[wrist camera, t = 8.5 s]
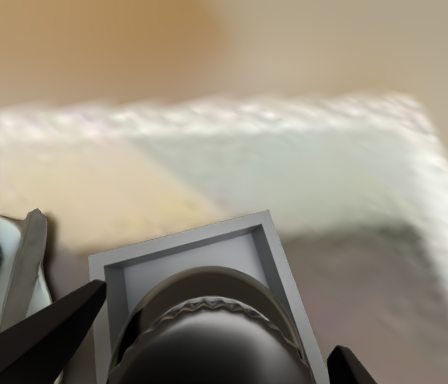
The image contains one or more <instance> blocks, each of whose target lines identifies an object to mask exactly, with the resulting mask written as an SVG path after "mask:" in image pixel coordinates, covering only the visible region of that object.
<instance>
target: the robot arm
mask: <svg viewBox="0 0 448 384" xmlns="http://www.w3.org/2000/svg"><path fill="white" fill-rule="evenodd" d="M106 297H107V282H106V281H104V280H100V279H94V280H92V281H91V282H89V283H87V284H85V285H84V286H82V287H80V288H78V289H76V290H75V291H73V292H71V293H69V294H68V295H66V296H64V297H62V298H61V299H59V300H57V301H55V302H53V303H52V304H50V305H48V306H46V307H45V308H43V309H41V310H39V311H38V312H36V313H34V314H32V315H30V316H29V317H27V318H25V319H23V320H22V321H20V322H18V323H16V324H14V325H13V326H11V327H9V328H7V329H6V330H4V331H2V332H0V384H53V383H54V382H55V381H56V379H57V378H58V376H59V375H60V373H61V372H62V371H63V369H64V368H65V366H66V365H67V363H68V362H69V361H70V359H71V358H72V356H73V355H74V353H75V352H76V350H77V349H78V347H79V346H80V344H81V343H82V341H83V339H84V338H85V336H86V334H87V332H88V331H89V329H90V327H91V325H92V324H93V322H94V320H95V318H96V317H97V315H98V313H99V311H100V310H101V308H102V306H103V304H104V302H105V300H106ZM327 367H328V375H329V383H330V384H377V383H376V382H375V380H374V379H373V378H372V376H371V375H370V374H369V373H368V371H367V370H366V369H365V368H364V366H363V365H362V364H361V363H360V361H359V360H358V359H357V357H356V356H355V355H354V354H353V352H352V351H351V350H350V349H349V348H347V347H343V346H340V345H337V346H336V347H335V348H334V350H333V351H332V352H331V354H330V355H329V357H328V359H327Z"/></svg>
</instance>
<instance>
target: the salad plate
mask: <svg viewBox="0 0 448 384" xmlns="http://www.w3.org/2000/svg"><path fill="white" fill-rule="evenodd" d="M47 221H48V220H47V218H46V217H45V216H44V215H43V214H42V213H41V211H40V210H39V209H38V208H37V209H35V210H33V211H32V212H29V213H28V214H27V217H26V219H24V220H15V219H11V218H8V217H4V216H0V332H2V331H4V330H6V329H7V328H9V327H11V326H13V325H14V324H16V323H18V322H20V321H22V320H23V319H25V318H27V317H29V316H30V315H32V314H34V313H36V312H38V311H39V310H41V309H43V308H45V307H46V306H48V305H50V304H52V303H53V302H52V299H51V296H50V292H49V289H48V287H47V284H46V281H45V277H44V270H43V259H44V254H45V250H46V243H47ZM62 378H63V371H62V372H61V373H60V375H59V376H58V378H57V379H56V381H55V382H54V383H53V384H60V383H61V381H62Z"/></svg>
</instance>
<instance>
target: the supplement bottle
mask: <svg viewBox="0 0 448 384" xmlns="http://www.w3.org/2000/svg"><path fill="white" fill-rule="evenodd" d="M106 384H314V383H313V379H312V373H311V369H310V367H309V366H308V365H307V364H306V363H305V360H304V354H303V350H302V346H301V342H300V339H299V336H298V333H297V331H296V329H295V326H294V324H293V322H292V320H291V318H290V316H289V314H288V313H287V311H286V310H285V308H284V306H283V305H282V304H281V302H280V301H279V300H278V299H277V297H276V296H275V295H274V294H273V293H272V292H271V291H270V290H269V289H268V288H267V287H266V286H264V285H263V284H262V283H261V282H259V281H258V280H256V279H255V278H253V277H252V276H250V275H248V274H246V273H244V272H241V271H238V270H236V269H232V268H228V267H223V266H200V267H194V268H190V269H187V270H184V271H181V272H179V273H176V274H174V275H172V276H170V277H169V278H167V279H165V280H164V281H162V282H161V283H159V284H158V285H157V286H155V287H154V288H153V289H152V290H151V291H150V292H148V293H147V294H146V295H145V296H144V298H143V299H142V300H141V301H140V302H139V303H138V304H137V306H136V307H135V308H134V309H133V311H132V312H131V314H130V315H129V317H128V319H127V320H126V322H125V324H124V326H123V328H122V330H121V332H120V334H119V336H118V338H117V341H116V344H115V346H114V349H113V352H112V356H111V359H110V363H109V368H108V374H107V382H106Z"/></svg>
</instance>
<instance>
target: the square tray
mask: <svg viewBox="0 0 448 384" xmlns="http://www.w3.org/2000/svg"><path fill="white" fill-rule="evenodd" d="M88 259H89V275H90V282H91V281H92V280H94V279H100V280H104V281H106V282H107V297H106V300H105V302H104V304H103V306H102V308H101V310H100V311H99V313H98V315H97V317H96V318H95V320H94V322H93V337H94V352H95V367H96V383H97V384H106V382H107V374H108V368H109V363H110V359H111V356H112V352H113V349H114V346H115V344H116V341H117V338H118V336H119V334H120V332H121V330H122V328H123V326H124V324H125V322H126V320H127V319H128V317H129V315H130V314H131V312H132V311H133V309H134V308H135V307H136V306H137V304H138V303H139V302H140V301H141V300H142V299H143V298H144V296H145V295H146V294H147V293H148V292H150V291H151V290H152V289H153V288H154V287H155V286H157V285H158V284H159V283H161V282H162V281H164V280H165V279H167V278H169V277H170V276H172V275H174V274H176V273H179V272H181V271H184V270H187V269H190V268H194V267H200V266H223V267H228V268H232V269H236V270H238V271H241V272H244V273H246V274H248V275H250V276H252V277H253V278H255V279H256V280H258V281H259V282H261V283H262V284H263V285H264V286H266V287H267V288H268V289H269V290H270V291H271V292H272V293H273V294H274V295H275V296H276V297H277V299H278V300H279V301H280V302H281V304H282V305H283V306H284V308H285V310H286V311H287V313H288V314H289V316H290V318H291V320H292V322H293V324H294V326H295V329H296V331H297V333H298V336H299V339H300V342H301V346H302V350H303V354H304V360H305V363H306V364H307V365H308V366H309V367H310V369H311V373H312V379H313V383H314V384H330V383H329V375H328V372H327V369H326V367H325V364H324V361H323V358H322V356H321V353H320V350H319V347H318V344H317V342H316V339H315V336H314V333H313V331H312V328H311V325H310V322H309V320H308V317H307V314H306V311H305V309H304V306H303V303H302V300H301V297H300V295H299V292H298V289H297V286H296V284H295V281H294V278H293V275H292V273H291V270H290V267H289V264H288V262H287V259H286V256H285V253H284V250H283V248H282V245H281V242H280V239H279V237H278V234H277V231H276V228H275V226H274V223H273V220H272V217H271V215H270V212H269V210H266V211H262V212H258V213H254V214H250V215H246V216H242V217H238V218H234V219H230V220H226V221H223V222H219V223H215V224H211V225H207V226H203V227H199V228H195V229H191V230H187V231H183V232H180V233H176V234H172V235H168V236H164V237H160V238H156V239H152V240H148V241H144V242H140V243H137V244H133V245H129V246H125V247H121V248H117V249H113V250H109V251H105V252H101V253H97V254H93V255H90V256H88Z"/></svg>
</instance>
